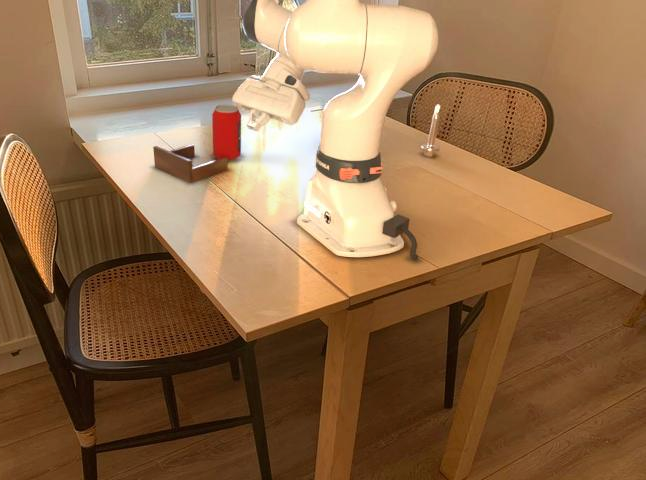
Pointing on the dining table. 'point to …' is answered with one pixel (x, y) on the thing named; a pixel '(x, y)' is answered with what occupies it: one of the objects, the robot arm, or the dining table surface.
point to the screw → (432, 135)
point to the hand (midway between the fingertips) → (251, 128)
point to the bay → (186, 164)
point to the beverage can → (226, 132)
